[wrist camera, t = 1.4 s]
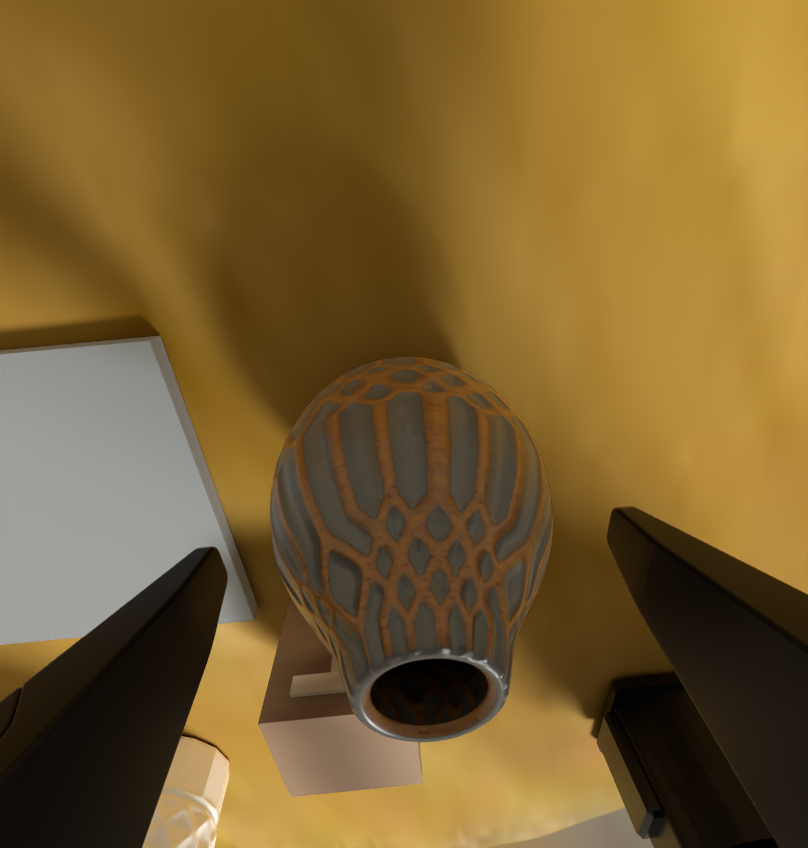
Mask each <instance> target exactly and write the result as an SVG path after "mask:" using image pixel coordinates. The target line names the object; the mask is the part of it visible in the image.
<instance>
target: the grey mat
mask: <svg viewBox="0 0 808 848" xmlns="http://www.w3.org/2000/svg"><path fill="white" fill-rule="evenodd" d="M211 546H214V547H216V548H217V549H218V550H219V552H220V555H221V557H222V560H223V562H224V565H225V568H226V570H227V574H228V582H227V587H226V591H225V595H224V599H223V604H222V608H221V612H220V616H219V620H218V624H220V623H231V622H241V621H251V620H255V617H256V614H257V611H258V606H257V603H256V600H255V597H254V594H253V592H252V589H251V586H250V583H249V581H248V578H247V575H246V572H245V569H244V567H243V564H242V561H241V558H240V556H239V553H238V550H237V547H236V544H235V542H234V539H233V536H232V533H231V531H230V528H229V525H228V522H227V520H226V517H225V514H224V511H223V508H222V506H221V503H220V500H219V497H218V495H217V492H216V489H215V486H214V483H213V481H212V478H211V475H210V472H209V470H208V467H207V464H206V461H205V458H204V456H203V453H202V450H201V447H200V445H199V442H198V439H197V436H196V433H195V431H194V428H193V425H192V422H191V420H190V417H189V414H188V411H187V409H186V406H185V403H184V400H183V397H182V395H181V392H180V389H179V386H178V384H177V381H176V378H175V375H174V372H173V370H172V367H171V364H170V361H169V359H168V356H167V353H166V350H165V347H164V345H163V342H162V339H161V336H150V337H140V338H129V339H118V340H107V341H96V342H85V343H74V344H63V345H52V346H41V347H30V348H19V349H8V350H0V645H5V644H15V643H25V642H36V641H46V640H56V639H66V638H77V637H84V636H85V635H86V634H88V633H89V632H90V631H91V630H93V629H94V628H95V627H97V626H98V625H99V624H100V623H102V622H103V621H104V620H105V619H107V618H108V617H109V616H111V615H112V614H113V613H114V612H116V611H117V610H118V609H120V608H121V607H122V606H123V605H125V604H126V603H127V602H128V601H130V600H131V599H132V598H134V597H135V596H136V595H137V594H139V593H140V592H141V591H142V590H144V589H145V588H146V587H148V586H149V585H150V584H151V583H153V582H154V581H155V580H156V579H158V578H159V577H160V576H162V575H163V574H164V573H165V572H167V571H168V570H169V569H170V568H172V567H173V566H174V565H176V564H177V563H178V562H179V561H181V560H182V559H183V558H184V557H186V556H187V555H188V554H190V553H191V552H192V551H193V550H195V549H197V548H200V547H211Z"/></svg>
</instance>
